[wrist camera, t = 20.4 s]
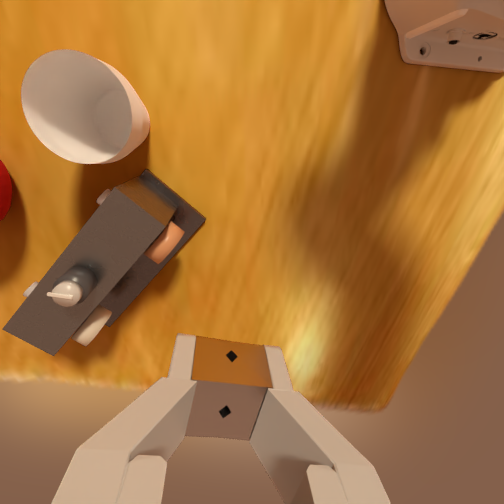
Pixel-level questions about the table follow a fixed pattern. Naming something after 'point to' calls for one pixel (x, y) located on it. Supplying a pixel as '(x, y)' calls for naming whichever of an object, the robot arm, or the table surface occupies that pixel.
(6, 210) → the tomato
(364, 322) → the table surface
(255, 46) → the table surface
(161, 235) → the knob
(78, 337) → the knob
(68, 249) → the mount
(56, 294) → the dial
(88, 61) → the cup
